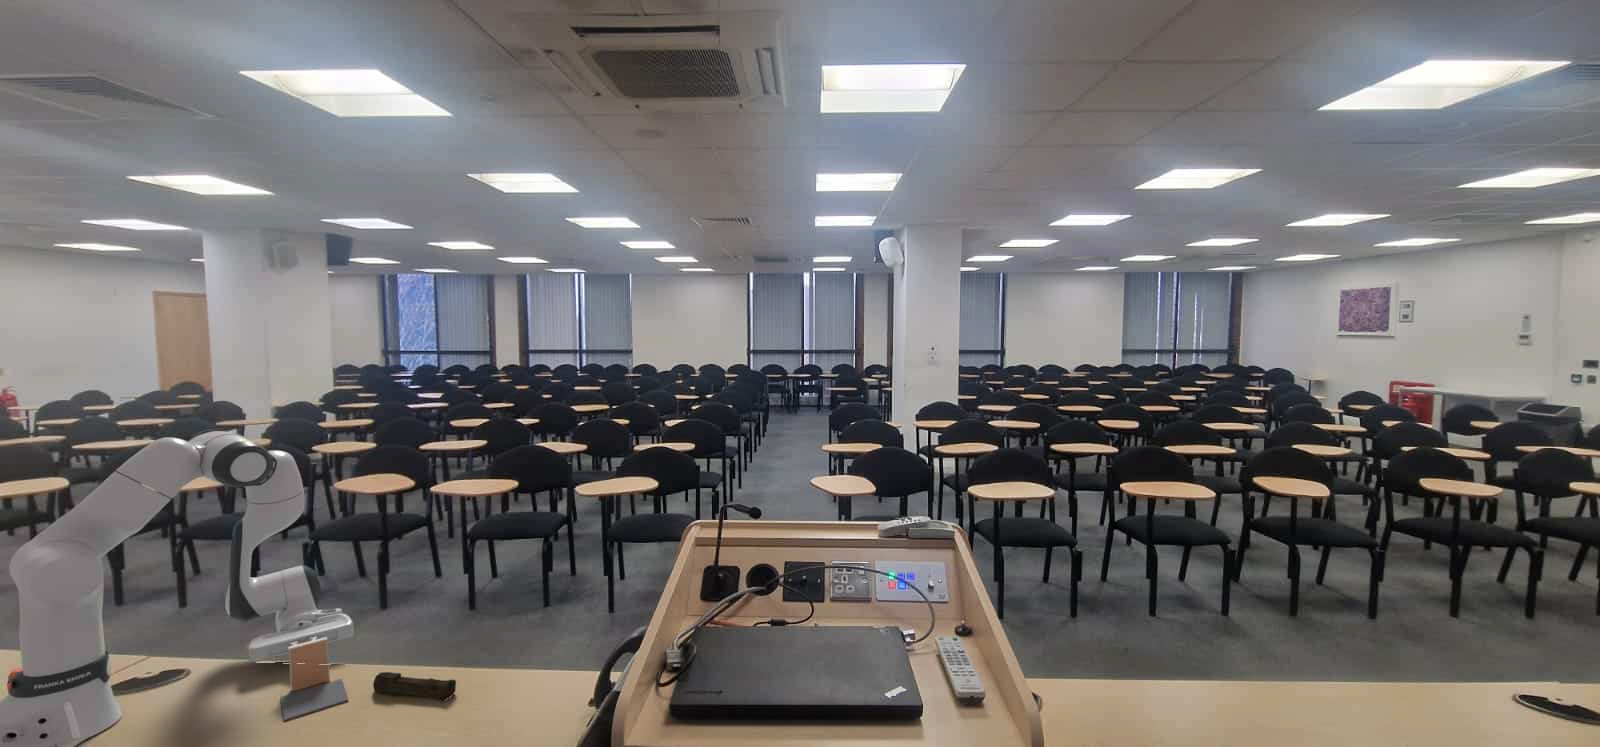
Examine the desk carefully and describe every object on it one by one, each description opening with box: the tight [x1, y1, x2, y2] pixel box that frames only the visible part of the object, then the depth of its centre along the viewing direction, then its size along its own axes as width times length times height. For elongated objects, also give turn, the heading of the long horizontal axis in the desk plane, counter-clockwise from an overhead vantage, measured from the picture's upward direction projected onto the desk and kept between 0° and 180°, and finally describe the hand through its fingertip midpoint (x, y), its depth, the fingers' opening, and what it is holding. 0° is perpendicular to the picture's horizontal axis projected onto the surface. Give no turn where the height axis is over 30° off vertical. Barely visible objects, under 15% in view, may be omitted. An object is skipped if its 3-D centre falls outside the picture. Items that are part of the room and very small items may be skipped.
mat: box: [280, 678, 349, 722], centre depth 143 cm, size 11×11×1 cm
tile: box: [288, 637, 331, 692], centre depth 148 cm, size 7×2×10 cm, turn 131°
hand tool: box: [372, 671, 457, 701], centre depth 145 cm, size 19×4×5 cm, turn 79°
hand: (305, 650), depth 154 cm, fingers closed
